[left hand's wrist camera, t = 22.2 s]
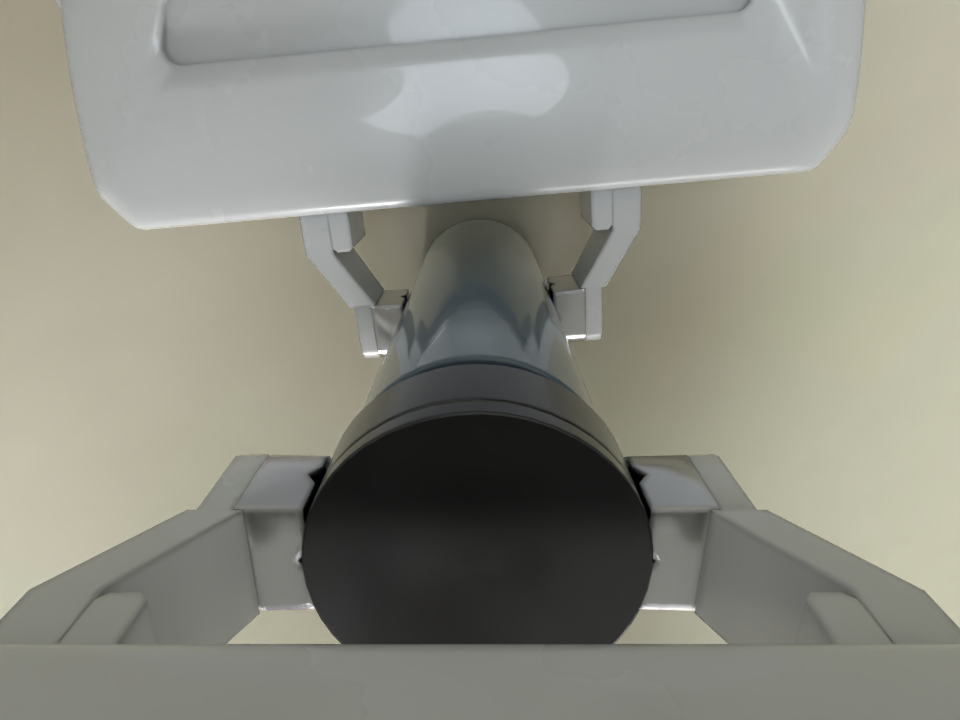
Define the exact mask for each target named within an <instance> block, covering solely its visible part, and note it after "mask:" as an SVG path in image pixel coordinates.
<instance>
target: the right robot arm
mask: <svg viewBox="0 0 960 720" xmlns="http://www.w3.org/2000/svg"><path fill="white" fill-rule="evenodd" d="M55 1H56V3H57V5H58V6H59V8H60V10H61V13H62V22H63V30H64V37H65V45H66V52H67V59H68V65H69V72H70V78H71V84H72V89H73V94H74V100H75V105H76V110H77V116H78V120H79V125H80V130H81V134H82V139H83V143H84V147H85V152H86V156H87V160H88V164H89V168H90V171H91V175H92V178H93V181H94V184H95V187H96V189H97V191H98V194H99V195H100V196H101V198H102V199H103V200H104V201H105V202H106V203H107V204H108V205H110V206H111V207H112V208H113V209H114V210H115V211H116V212H117V213H118V214H119V215H120V216H121V217H123V218H124V219H125V220H126V221H127V222H129V223H130V224H131V225H132V226H133V227H135V228H138V229H142V230H148V229H161V228H172V227H183V226H195V225H206V224H218V223H229V222H240V221H252V220H263V219H275V218H286V217H297V216H299V219H300V224H301V229H302V235H303V240H304V245H305V250H306V255H307V257H308V258H309V259H310V261H311V262H312V263H313V264H314V265H315V266H316V268H317V269H318V270H319V271H320V272H321V274H322V275H323V276H324V277H325V278H326V279H327V281H328V282H329V283H330V284H331V285H332V287H333V288H334V289H335V290H336V291H337V293H338V294H339V295H340V296H341V297H342V298H343V300H344V301H345V302H346V303H347V304H348V306H349V307H350V308H352V307H354V308H355V314H356V320H357V326H358V332H359V337H360V343H361V349H362V353H363V355H364V357H365V358H377V357H382V356H385V354H386V352H387V349H388V347H389V345H390V342H391V340H392V337H393V335H394V332H395V330H396V327H397V325H398V323H399V320H400V318H401V315H402V313H403V310H404V308H405V305H406V303H407V300H408V298H409V290H408V289H401V290H385V291H383V290H384V289H383V287H382V286H381V285H380V283H379V282H378V281H377V279H376V278H375V277H374V275H373V274H372V273H371V271H370V270H369V268H368V267H367V266H366V264H365V263H364V262H363V260H362V259H361V258H360V256H359V255H358V254H357V252H356V251H355V250H354V248H353V247H354V246H355V245H356V244H357V243H358V242H359V241H360V240H361V239H362V238H363V237H364V236H365V228H364V221H363V214H362V211H366V210H377V209H389V208H400V207H411V206H423V205H434V204H446V203H457V202H468V201H480V200H491V199H503V198H514V197H525V196H537V195H548V194H560V193H571V192H580V203H581V216H582V217H583V218H584V219H585V220H586V221H587V222H588V223H589V224H590V225H591V226H592V227H593V228H594V231H593V233H592V235H591V237H590V239H589V241H588V243H587V245H586V247H585V249H584V251H583V253H582V254H581V256H580V258H579V260H578V262H577V264H576V266H575V268H574V270H573V272H572V274H573V275H566V276H557V277H547V282H548V291H549V294H550V296H551V299H552V302H553V304H554V307H555V309H556V312H557V315H558V317H559V320H560V322H561V325H562V328H563V330H564V333H565V335H566V338H567V341H568V342H574V341H584V340H585V341H587V340H600V339H601V336H602V287H606V286H607V284H608V282H609V281H610V279H611V277H612V275H613V274H614V272H615V270H616V269H617V267H618V265H619V264H620V262H621V260H622V258H623V257H624V255H625V253H626V252H627V250H628V248H629V246H630V245H631V243H632V241H633V240H634V238H635V236H636V235H637V233H638V231H639V229H640V225H641V186H651V185H662V184H674V183H685V182H696V181H708V180H719V179H731V178H742V177H754V176H765V175H776V174H787V173H798V172H807V171H810V170H813V169H815V168H816V167H817V166H818V165H819V164H820V163H821V162H822V161H823V160H824V159H825V158H826V157H827V155H828V154H829V153H830V152H831V150H832V149H833V148H834V147H835V145H836V144H837V143H838V141H839V140H840V139H841V138H842V136H843V135H844V134H845V132H846V131H847V129H848V127H849V125H850V123H851V120H852V116H853V112H854V108H855V102H856V96H857V90H858V82H859V74H860V65H861V55H862V45H863V33H864V20H865V2H866V0H55Z"/></svg>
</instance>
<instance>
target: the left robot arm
mask: <svg viewBox="0 0 960 720" xmlns="http://www.w3.org/2000/svg"><path fill="white" fill-rule="evenodd" d="M624 461H625V463H626V465H627V468H628V470H629V473H630V475H631V477H632V480H633V482H634V485H635V487H636V489H637V492H638V494H639V497H640V499H641V501H642V504H643V506H644V508H645V511H646V513H647V517H648V520H649V524H650V528H651V532H652V540H653V550H654V554H653V569H652V574H651V579H650V583H649V587H648V591H647V593H646V596H645V598H644V601H643V603H642V606H641V608H640V609H658V610H695V614H696V615H697V616H698V617H700V618H701V619H702V620H703V621H704V622H705V623H706V624H707V625H708V626H709V627H710V628H712V629H713V630H714V631H715V632H716V633H717V634H718V635H719V636H720V637H721V638H722V639H724V640H725V641H726V642H727V643H728V644H226V643H227V642H229V641H230V640H231V639H232V638H233V637H234V636H235V635H236V634H237V633H238V632H240V631H241V630H242V629H243V628H244V627H245V626H246V625H247V624H248V623H250V622H251V621H252V620H253V619H254V618H255V617H256V616H257V615H258V614H259V610H295V609H315V607H314V605H313V603H312V601H311V598H310V595H309V592H308V590H307V587H306V583H305V578H304V573H303V568H302V549H301V546H302V539H303V531H304V526H305V523H306V519H307V516H308V513H309V509H310V507H311V505H312V503H313V500H314V498H315V496H316V494H317V491H318V489H319V487H320V484H321V482H322V480H323V478H324V475H325V473H326V471H327V468H328V466H329V464H330V462H331V458H330V456H299V455H268V454H264V455H240V456H236V457H235V458H234V459H233V461H232V462H231V463H230V465H229V466H228V468H227V469H226V470H225V472H224V473H223V474H222V476H221V477H220V479H219V480H218V481H217V483H216V484H215V485H214V487H213V488H212V490H211V491H210V492H209V494H208V495H207V496H206V498H205V499H204V500H203V502H202V503H201V505H200V506H199V507H198V509H197V510H186V511H184V512H182V513H180V514H178V515H176V516H174V517H172V518H170V519H168V520H166V521H164V522H162V523H160V524H158V525H156V526H154V527H152V528H150V529H148V530H146V531H144V532H143V533H141V534H139V535H137V536H135V537H133V538H131V539H129V540H127V541H125V542H123V543H121V544H119V545H117V546H115V547H113V548H111V549H109V550H107V551H105V552H103V553H101V554H99V555H97V556H95V557H93V558H91V559H89V560H87V561H85V562H83V563H81V564H79V565H77V566H75V567H73V568H71V569H69V570H67V571H65V572H63V573H62V574H60V575H58V576H56V577H54V578H52V579H50V580H48V581H46V582H44V583H42V584H40V585H38V586H36V587H34V588H32V589H30V590H29V591H28V592H27V593H26V594H25V595H24V596H23V597H22V598H21V599H20V600H19V601H18V602H17V603H16V604H15V605H14V606H13V607H12V608H11V609H10V610H9V611H8V612H7V613H6V615H5V616H4V617H3V618H2V619H1V620H0V720H960V628H959V627H958V626H957V625H956V624H955V623H954V622H953V621H952V620H951V619H950V618H949V616H948V615H947V614H946V613H945V612H944V611H943V610H942V609H941V608H940V607H939V606H938V605H937V604H936V603H935V601H934V600H933V599H932V598H931V597H930V596H929V595H928V594H927V593H926V592H925V591H924V590H922V589H920V588H918V587H916V586H914V585H912V584H910V583H908V582H906V581H904V580H902V579H900V578H899V577H897V576H895V575H893V574H891V573H889V572H887V571H885V570H883V569H881V568H879V567H877V566H875V565H873V564H871V563H869V562H867V561H865V560H863V559H861V558H860V557H858V556H856V555H854V554H852V553H850V552H848V551H846V550H844V549H842V548H840V547H838V546H836V545H834V544H832V543H830V542H828V541H826V540H824V539H822V538H820V537H819V536H817V535H815V534H813V533H811V532H809V531H807V530H805V529H803V528H801V527H799V526H797V525H795V524H793V523H791V522H789V521H787V520H785V519H783V518H781V517H780V516H778V515H776V514H774V513H772V512H770V511H768V510H757V509H756V508H755V506H754V505H753V503H752V502H751V501H750V499H749V498H748V496H747V495H746V494H745V492H744V491H743V489H742V488H741V487H740V485H739V484H738V483H737V481H736V480H735V478H734V477H733V476H732V474H731V473H730V471H729V470H728V469H727V467H726V466H725V464H724V463H723V462H722V460H721V459H720V457H718V456H716V455H714V454H708V455H673V456H633V457H624Z"/></svg>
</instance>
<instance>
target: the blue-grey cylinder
mask: <svg viewBox="0 0 960 720" xmlns="http://www.w3.org/2000/svg"><path fill="white" fill-rule="evenodd" d="M468 364H488V365H501V366H506V367H511V368H516V369H521V370H525V371H528V372H531V373H534V374H537V375H540V376H543V377H545V378H547V379H549V380H551V381H553V382H555V383H557V384H559V385H561V386H563V387H564V388H566V389H568V390H569V391H571V392H572V393H574V394H575V395H577V396H578V397H579V398H580V399H582V400H583V401H584V402H585V403H586V404H587V405H589V406H590V407H591V408H592V409H593V410H594V408H593V405H592V403H591V400H590V398H589V395H588V392H587V390H586V387H585V385H584V382H583V379H582V377H581V374H580V372H579V369H578V366H577V364H576V361H575V359H574V356H573V354H572V351H571V348H570V346H569V343H568V341H567V338H566V335H565V333H564V330H563V328H562V325H561V322H560V320H559V317H558V315H557V312H556V309H555V307H554V304H553V302H552V299H551V296H550V294H549V291H548V289H547V286H546V284H545V281H544V278H543V276H542V273H541V271H540V268H539V265H538V263H537V260H536V258H535V255H534V253H533V251H532V249H531V247H530V246H529V244H528V243H527V241H526V240H525V239H524V238H523V237H522V236H521V235H520V234H519V233H518V232H517V231H515V230H514V229H512V228H511V227H509V226H507V225H505V224H503V223H500V222H497V221H494V220H487V219H473V220H467V221H463V222H460V223H458V224H455V225H453V226H452V227H450V228H448V229H447V230H445V231H444V232H443V233H441V234H440V235H439V236H438V237H437V238H436V240H435V241H434V242H433V243H432V245H431V246H430V248H429V250H428V252H427V254H426V256H425V259H424V261H423V264H422V266H421V269H420V271H419V274H418V276H417V278H416V281H415V283H414V286H413V288H412V291H411V293H410V296H409V298H408V300H407V303H406V305H405V308H404V310H403V313H402V315H401V318H400V320H399V323H398V325H397V327H396V330H395V332H394V335H393V337H392V340H391V342H390V345H389V347H388V349H387V352H386V354H385V357H384V359H383V362H382V364H381V367H380V369H379V372H378V374H377V376H376V379H375V381H374V384H373V386H372V389H371V391H370V394H369V396H368V398H367V401H366V403H365V406H364V408H365V407H366V406H367V405H368V404H369V403H370V402H372V401H373V400H374V399H375V398H376V397H378V396H379V395H380V394H381V393H383V392H385V391H386V390H388V389H390V388H391V387H393V386H394V385H396V384H398V383H400V382H402V381H404V380H406V379H409V378H411V377H413V376H415V375H418V374H421V373H424V372H428V371H431V370H434V369H438V368H444V367H450V366H455V365H468ZM364 408H363V409H364Z"/></svg>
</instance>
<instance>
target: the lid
mask: <svg viewBox="0 0 960 720" xmlns="http://www.w3.org/2000/svg"><path fill="white" fill-rule="evenodd" d="M301 549H302V568H303V573H304V578H305V583H306V587H307V590H308V592H309V595H310V598H311V601H312V603H313V605H314V607H315V609H316V611H317V612H318V614H319V616H320V618H321V620H322V621H323V622H324V624H325V625H326V626H327V628H328V629H329V631H330V632H331V633H332V635H333V636H334V637H335V638H336V639H337V640H338V641H339V642H340V643H341V644H615V643H616V642H617V641H618V640H619V639H620V638H621V636H622V635H623V634H624V632H625V631H626V630H627V629H628V627H629V626H630V625H631V623H632V622H633V620H634V618H635V617H636V615H637V613H638V612H639V610H640V608H641V606H642V603H643V601H644V598H645V596H646V593H647V591H648V587H649V583H650V579H651V574H652V569H653V554H654V550H653V540H652V532H651V528H650V524H649V520H648V517H647V513H646V511H645V508H644V506H643V504H642V501H641V499H640V497H639V494H638V492H637V489H636V487H635V485H634V482H633V480H632V477H631V475H630V473H629V470H628V468H627V465H626V463H625V461H624V458H623V456H622V454H621V451H620V449H619V447H618V445H617V442H616V440H615V438H614V437H613V435H612V433H611V432H610V430H609V429H608V427H607V426H606V424H605V423H604V422H603V420H602V419H601V418H600V417H599V416H598V415H597V413H596V412H595V411H594V410H593V409H592V408H591V407H590V406H589V405H587V404H586V403H585V402H584V401H583V400H582V399H580V398H579V397H578V396H577V395H575V394H574V393H572V392H571V391H569V390H568V389H566V388H564V387H563V386H561V385H559V384H557V383H555V382H553V381H551V380H549V379H547V378H545V377H543V376H540V375H537V374H534V373H531V372H528V371H525V370H521V369H516V368H511V367H506V366H501V365H488V364H468V365H455V366H450V367H444V368H438V369H434V370H431V371H428V372H424V373H421V374H418V375H415V376H413V377H411V378H409V379H406V380H404V381H402V382H400V383H398V384H396V385H394V386H393V387H391V388H390V389H388V390H386V391H385V392H383V393H381V394H380V395H379V396H378V397H376V398H375V399H374V400H373V401H372V402H370V403H369V404H368V405H367V406H366V407H365V408H364V409H363V410H362V411H361V412H360V413H359V414H358V415H357V416H356V417H355V419H354V420H353V421H352V422H351V424H350V425H349V427H348V428H347V430H346V431H345V433H344V434H343V436H342V438H341V440H340V442H339V444H338V446H337V448H336V450H335V453H334V455H333V457H332V459H331V462H330V464H329V466H328V468H327V471H326V473H325V475H324V478H323V480H322V482H321V484H320V487H319V489H318V491H317V494H316V496H315V498H314V500H313V503H312V505H311V507H310V509H309V513H308V516H307V519H306V523H305V526H304V531H303V539H302V546H301Z"/></svg>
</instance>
